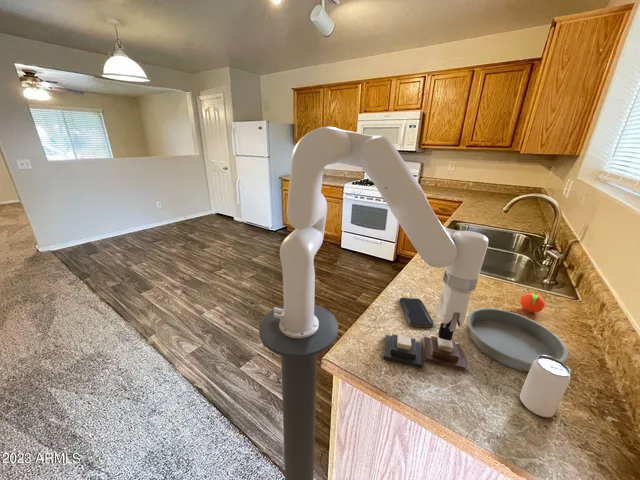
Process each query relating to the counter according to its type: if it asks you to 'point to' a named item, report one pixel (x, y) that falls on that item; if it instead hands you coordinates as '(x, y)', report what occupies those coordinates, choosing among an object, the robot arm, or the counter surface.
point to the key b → (444, 345)
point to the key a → (404, 342)
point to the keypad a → (402, 352)
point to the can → (545, 386)
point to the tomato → (532, 302)
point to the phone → (416, 312)
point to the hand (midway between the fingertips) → (444, 337)
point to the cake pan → (513, 338)
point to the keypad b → (443, 354)
